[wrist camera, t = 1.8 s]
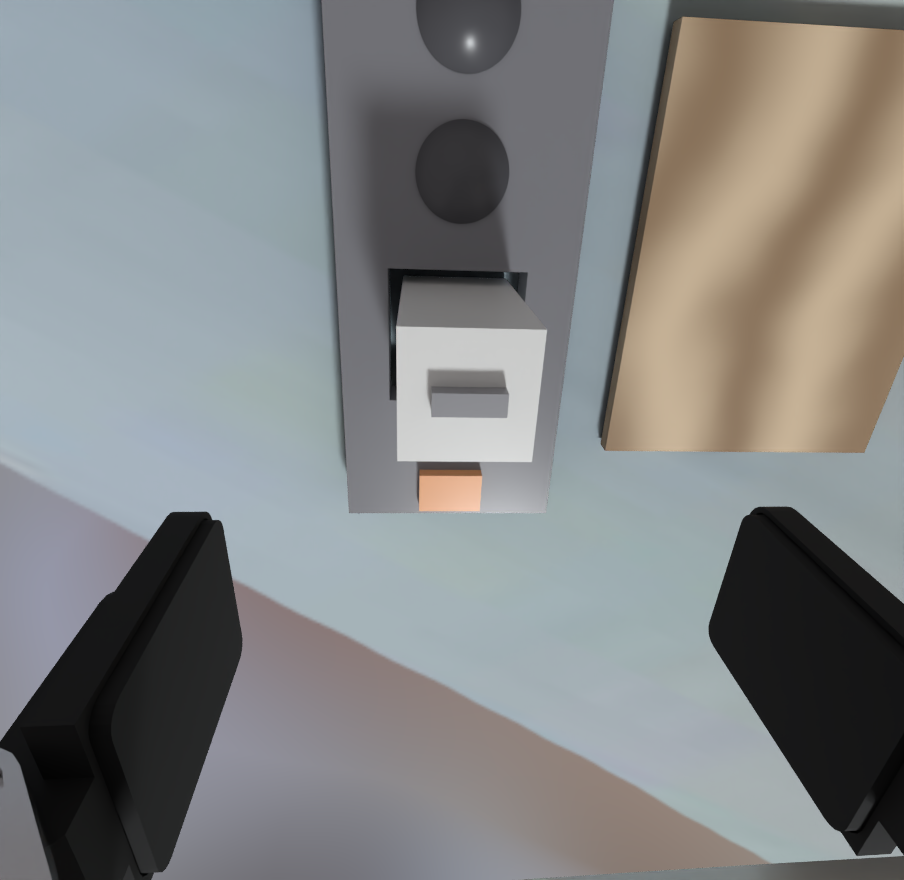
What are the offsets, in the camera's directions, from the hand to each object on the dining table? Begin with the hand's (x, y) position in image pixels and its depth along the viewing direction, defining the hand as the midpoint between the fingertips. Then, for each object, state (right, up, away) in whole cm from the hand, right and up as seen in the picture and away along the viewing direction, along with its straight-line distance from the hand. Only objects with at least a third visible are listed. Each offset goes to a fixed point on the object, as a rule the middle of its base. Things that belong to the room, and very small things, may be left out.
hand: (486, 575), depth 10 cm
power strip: (0, +10, +14) cm, 18 cm away
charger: (-1, +8, +16) cm, 18 cm away
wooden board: (+15, +10, +15) cm, 24 cm away
